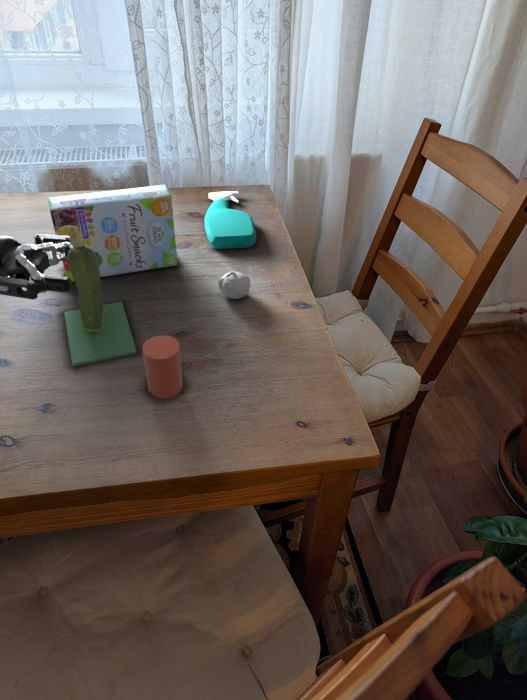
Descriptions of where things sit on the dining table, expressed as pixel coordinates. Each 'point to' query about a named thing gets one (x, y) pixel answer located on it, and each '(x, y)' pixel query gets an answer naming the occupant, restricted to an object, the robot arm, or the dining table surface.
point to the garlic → (234, 284)
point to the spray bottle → (228, 223)
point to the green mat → (100, 336)
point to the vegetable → (86, 281)
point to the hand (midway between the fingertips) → (82, 269)
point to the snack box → (120, 227)
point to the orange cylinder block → (163, 366)
